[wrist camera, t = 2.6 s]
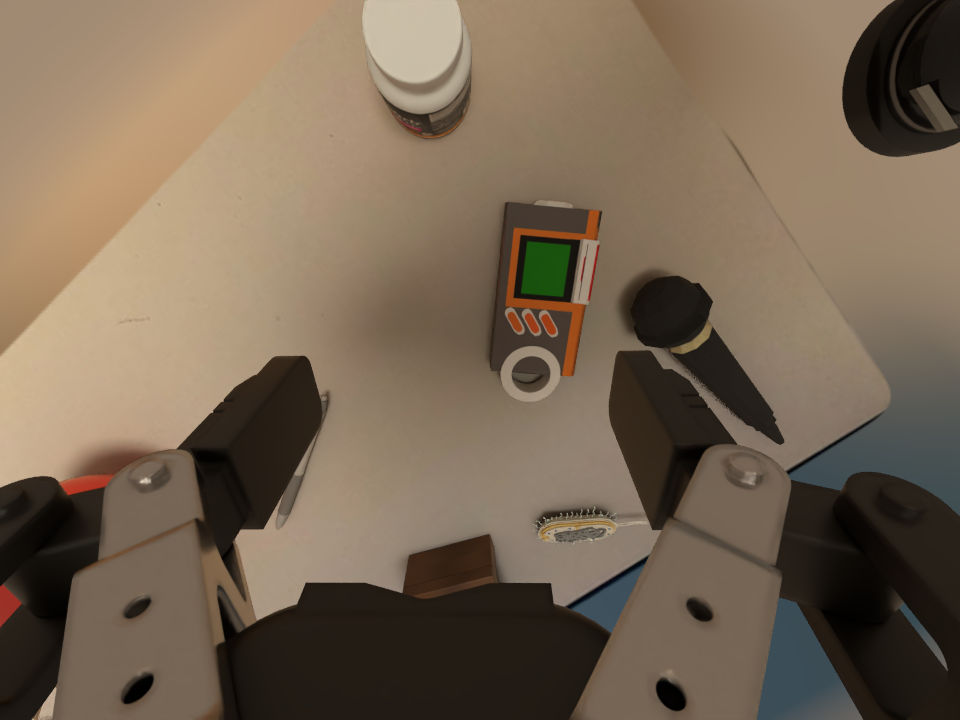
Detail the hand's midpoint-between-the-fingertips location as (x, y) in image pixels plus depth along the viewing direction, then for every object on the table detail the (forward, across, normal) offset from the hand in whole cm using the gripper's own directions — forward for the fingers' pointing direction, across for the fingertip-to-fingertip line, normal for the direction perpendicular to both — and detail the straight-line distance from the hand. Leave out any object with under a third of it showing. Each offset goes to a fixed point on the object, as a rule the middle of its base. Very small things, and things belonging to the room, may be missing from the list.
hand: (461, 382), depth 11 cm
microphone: (+21, -18, +13) cm, 31 cm away
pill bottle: (+25, +3, -8) cm, 26 cm away
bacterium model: (+16, -10, +24) cm, 30 cm away
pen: (+18, +16, +19) cm, 31 cm away
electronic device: (+22, -4, +7) cm, 23 cm away
